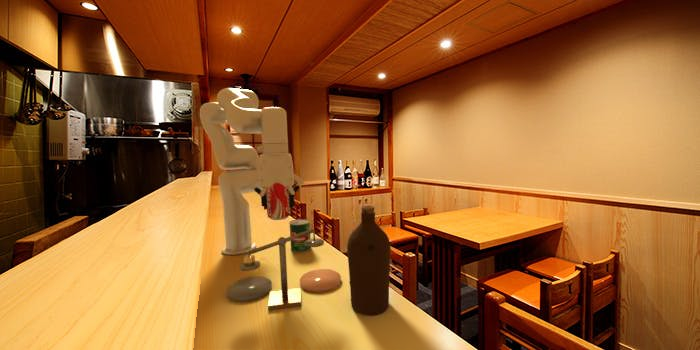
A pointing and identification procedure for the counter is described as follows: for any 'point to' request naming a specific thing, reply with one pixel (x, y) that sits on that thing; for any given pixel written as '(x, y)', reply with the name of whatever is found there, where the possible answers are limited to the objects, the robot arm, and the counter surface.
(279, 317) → the counter surface
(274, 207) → the soda can
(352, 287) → the olive oil
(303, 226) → the canned tomato
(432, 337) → the counter surface
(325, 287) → the dish high
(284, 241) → the balance
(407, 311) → the counter surface
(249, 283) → the dish low
